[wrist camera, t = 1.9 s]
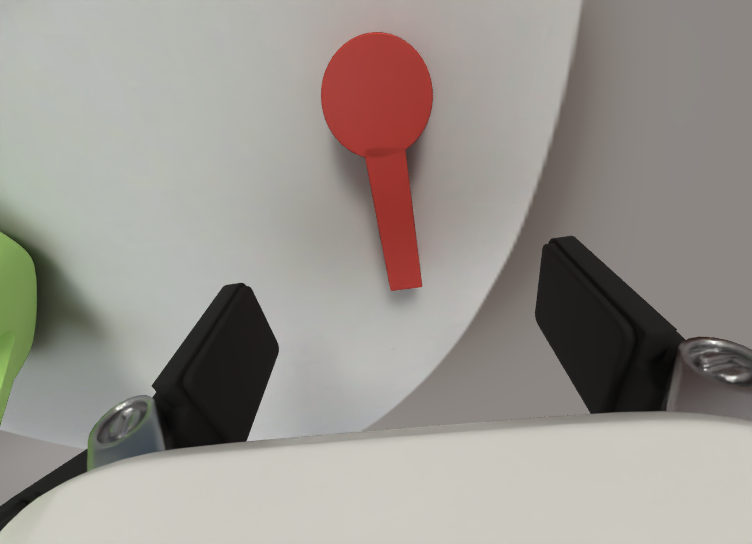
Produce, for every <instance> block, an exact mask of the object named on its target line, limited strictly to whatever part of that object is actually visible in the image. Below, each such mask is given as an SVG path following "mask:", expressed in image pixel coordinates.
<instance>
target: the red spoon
mask: <svg viewBox="0 0 752 544" xmlns="http://www.w3.org/2000/svg"><path fill="white" fill-rule="evenodd" d="M432 101H433V89H432V82H431V78H430V74H429V71H428V69H427V66H426V64H425V63H424V61H423V59H422V57H421V56H420V55H419V53H418V52H417V51H416V50H415V49H414V48H413V47H412V46H411V45H410V44H409V43H407V42H406V41H405V40H403V39H401V38H399V37H397V36H394V35H392V34H388V33H382V32H372V33H366V34H362V35H359V36H357V37H355V38H353V39H351V40H349V41H348V42H347V43H345V44H344V45H343V46H342V47H341V48H340V49H339V50H338V51H337V52H336V53H335V54H334V56H333V57H332V59H331V61H330V62H329V64H328V66H327V69H326V71H325V74H324V77H323V82H322V88H321V102H322V109H323V113H324V117H325V120H326V122H327V125H328V127H329V129H330V130H331V132H332V134H333V135H334V136H335V138H336V139H337V140H338V141H339V142H340V143H341V144H342V145H343V146H344V147H345V148H347V149H348V150H350V151H351V152H353V153H355V154H357V155H359V156H363V157H365V160H366V165H367V170H368V176H369V181H370V186H371V191H372V196H373V202H374V207H375V212H376V217H377V222H378V227H379V233H380V238H381V243H382V248H383V253H384V259H385V264H386V269H387V274H388V279H389V284H390V290H391V291H395V290H403V289H411V288H418V287H422V280H421V272H420V264H419V256H418V248H417V240H416V232H415V224H414V216H413V207H412V199H411V191H410V183H409V175H408V167H407V159H406V151H405V150H406V149H407V148H409V147H410V146H411V145H412V144H413V143H414V142H415V141H416V140H417V139H418V138H419V136H420V135H421V134H422V132H423V130H424V129H425V127H426V125H427V122H428V120H429V117H430V113H431V109H432Z"/></svg>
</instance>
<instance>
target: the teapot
mask: <svg viewBox="0 0 752 544" xmlns="http://www.w3.org/2000/svg"><path fill="white" fill-rule="evenodd" d="M36 315H37V282H36V274H35V266H34V264H33V261H32V258H31V257H30V255H29V254H28V253H27V251H26V250H25V249H23V248H22V247H21V246H20V245H19V244H18V243H16V242H15V241H13V240H12V239H11V238H9V237H8V236H6V235H5V234H3V233H2V232H0V425H1V422H2V418H3V415H4V411H5V408H6V405H7V401H8V398H9V395H10V391H11V388H12V385H13V381H14V378H15V377H16V376H17V374H18V372H19V371H20V369H21V368H22V366H23V364H24V362H25V360H26V358H27V356H28V354H29V352H30V349H31V346H32V343H33V338H34V332H35V325H36Z"/></svg>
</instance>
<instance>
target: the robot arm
mask: <svg viewBox="0 0 752 544" xmlns="http://www.w3.org/2000/svg"><path fill="white" fill-rule="evenodd" d="M535 317H536V321H537V323H538V325H539V327H540V329H541V330H542V332H543V334H544V335H545V337H546V339H547V341H548V342H549V344H550V346H551V347H552V349H553V351H554V352H555V354H556V356H557V358H558V359H559V361H560V363H561V364H562V366H563V368H564V369H565V371H566V373H567V374H568V376H569V378H570V379H571V381H572V383H573V384H574V386H575V388H576V390H577V391H578V393H579V394H580V396H581V398H582V400H583V401H584V403H585V405H586V406H587V408H588V410H589V411H590V413H591V414H584V415H567V416H551V417H537V418H525V419H511V420H498V421H486V422H473V423H460V424H448V425H435V426H423V427H410V428H399V429H386V430H374V431H362V432H350V433H338V434H326V435H315V436H304V437H292V438H281V439H270V440H259V441H247V438H248V435H249V433H250V430H251V427H252V424H253V422H254V419H255V416H256V413H257V411H258V408H259V405H260V402H261V400H262V397H263V394H264V391H265V389H266V386H267V383H268V381H269V378H270V375H271V372H272V370H273V367H274V364H275V361H276V359H277V356H278V352H279V346H278V343H277V340H276V338H275V336H274V334H273V332H272V330H271V328H270V326H269V324H268V322H267V320H266V317H265V315H264V313H263V311H262V309H261V307H260V305H259V303H258V301H257V299H256V297H255V295H254V292H253V290H252V289H251V288H250V287H249V286H246V285H245V284H244V283H237V284H230V285H225V286H224V287H223V288H222V289H221V290H220V292H219V293H218V295H217V296H216V297H215V299H214V300H213V301H212V303H211V304H210V306H209V307H208V308H207V310H206V311H205V313H204V314H203V315H202V317H201V318H200V320H199V321H198V322H197V324H196V325H195V326H194V328H193V329H192V331H191V332H190V333H189V335H188V336H187V338H186V339H185V340H184V342H183V343H182V344H181V346H180V347H179V349H178V350H177V351H176V353H175V354H174V356H173V357H172V358H171V360H170V361H169V362H168V364H167V365H166V367H165V368H164V369H163V371H162V372H161V374H160V375H159V376H158V378H157V379H156V380H155V382H154V383H153V385H152V387H153V388H154V389H155V391H156V393H155V395H154V396H153V398H152V397H150V396H148V395H139V396H135V397H132V398H129V399H127V400H125V401H123V402H121V403H119V404H118V405H116V406H115V407H113V408H112V409H111V410H109V411H108V412H107V413H106V414H105V415H104V416H102V418H101V419H100V420H99V421H98V422H97V423H96V424H95V426H94V427H93V429H92V431H91V433H90V435H89V439H88V449H86V450H85V451H83V452H82V453H80V454H78V455H77V456H75V457H74V458H72V459H71V460H69V461H68V462H66V463H65V464H63V465H62V466H60V467H59V468H57V469H55V470H54V471H52V472H51V473H49V474H48V475H46V476H45V477H43V478H42V479H40V480H39V481H37V482H36V483H34V484H33V485H31V486H30V487H28V488H26V489H25V490H23V491H22V492H20V493H19V494H17V495H16V496H14V497H13V498H11V499H10V500H8V501H7V502H6V503H4V504H3V505H1V506H0V544H752V350H751V349H749V348H747V347H745V346H743V345H740V344H737V343H734V342H731V341H728V340H724V339H719V338H714V337H695V338H689V339H687V340H685V339H684V338H683V337H682V336H681V335H680V334H679V333H678V332H677V331H676V330H677V329H676V328H675V327H673V326H672V325H671V324H670V323H669V322H668V321H667V320H666V319H665V318H663V316H661V315H660V314H659V313H658V312H657V311H656V310H655V309H654V308H653V307H652V306H650V305H649V304H648V303H647V302H646V301H645V300H644V299H643V298H642V297H640V296H639V295H638V294H637V293H636V292H635V291H634V290H633V289H632V288H631V287H629V286H628V285H627V284H626V283H625V282H624V281H623V280H622V279H621V278H619V277H618V276H617V275H616V274H615V273H614V272H613V271H612V270H611V269H610V268H608V267H607V266H606V265H605V264H604V263H603V262H602V261H601V260H600V259H598V258H597V257H596V256H595V255H594V254H593V253H592V252H591V251H590V250H588V249H587V248H586V247H585V246H584V245H583V244H582V243H581V242H580V241H579V240H577V239H576V238H575V237H574V236H566V237H559V238H553V239H551V240H550V241H549V243H548V244H545V245H544V246H543V249H542V258H541V267H540V275H539V283H538V292H537V301H536V309H535ZM246 441H247V442H246Z"/></svg>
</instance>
